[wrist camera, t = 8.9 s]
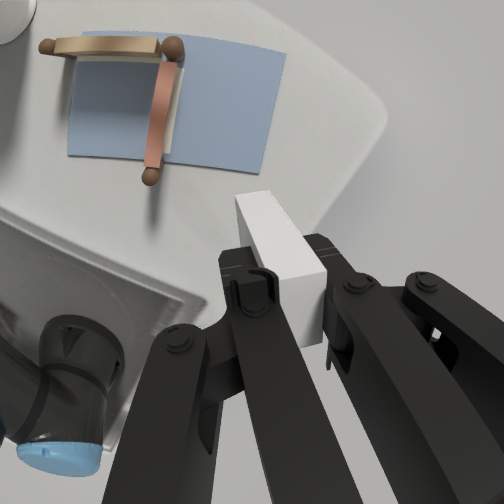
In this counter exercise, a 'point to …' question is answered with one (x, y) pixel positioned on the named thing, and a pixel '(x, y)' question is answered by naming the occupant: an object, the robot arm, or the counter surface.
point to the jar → (14, 18)
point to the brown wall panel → (114, 47)
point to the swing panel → (159, 122)
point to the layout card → (178, 103)
